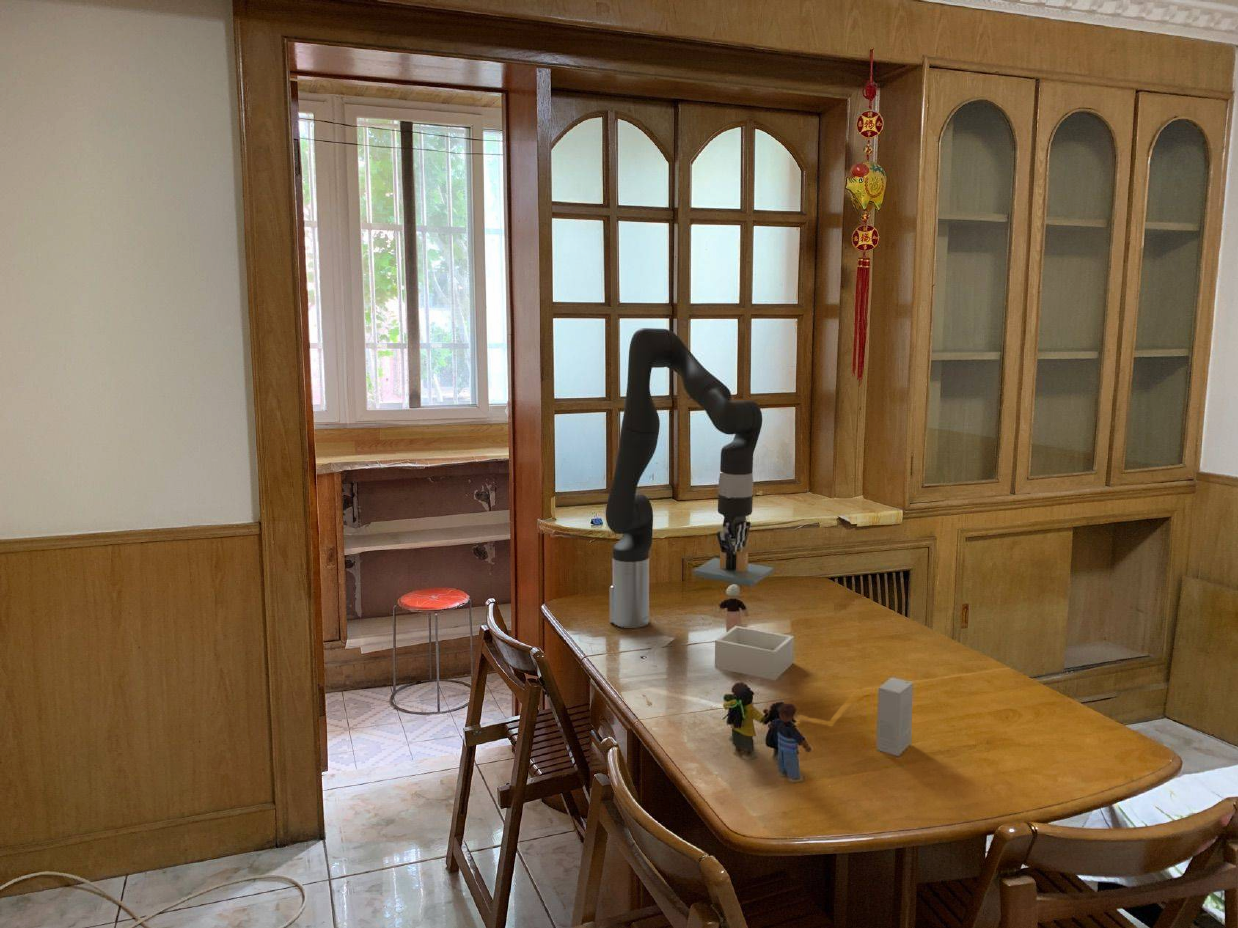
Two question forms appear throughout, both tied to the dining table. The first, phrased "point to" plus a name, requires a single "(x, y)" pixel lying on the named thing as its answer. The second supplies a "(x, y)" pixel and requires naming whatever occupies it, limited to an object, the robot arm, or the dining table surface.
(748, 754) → the doll family
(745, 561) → the lid
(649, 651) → the mat
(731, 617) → the grandmother figurine
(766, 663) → the small white cabinet
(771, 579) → the dining table surface
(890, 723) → the skincare box
